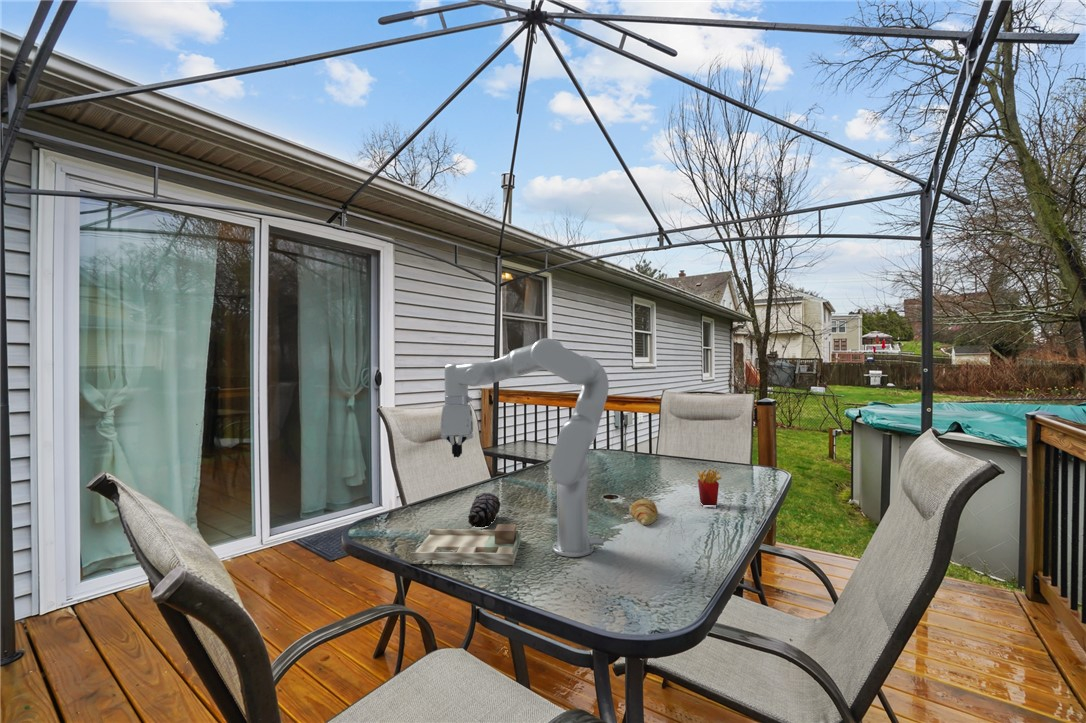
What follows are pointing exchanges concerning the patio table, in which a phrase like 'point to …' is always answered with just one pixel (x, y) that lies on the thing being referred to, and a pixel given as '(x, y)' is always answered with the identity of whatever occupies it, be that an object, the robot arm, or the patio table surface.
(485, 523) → the pine cone
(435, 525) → the patio table surface
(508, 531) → the walnut block
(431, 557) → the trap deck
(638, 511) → the croissant
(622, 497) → the patio table surface
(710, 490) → the french fries
